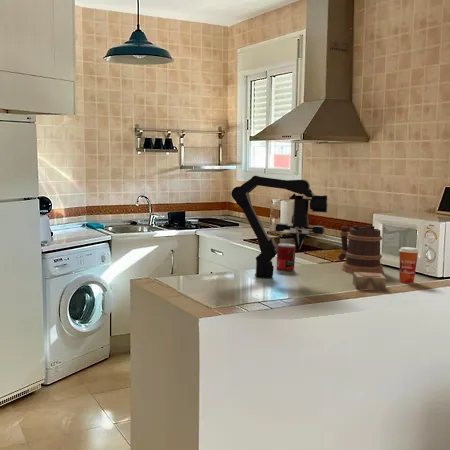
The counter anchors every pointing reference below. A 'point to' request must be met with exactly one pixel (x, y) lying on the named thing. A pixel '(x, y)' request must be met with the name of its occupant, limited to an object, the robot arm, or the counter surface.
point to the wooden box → (369, 281)
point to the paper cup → (408, 264)
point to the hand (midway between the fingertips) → (298, 250)
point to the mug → (361, 249)
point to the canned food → (285, 257)
